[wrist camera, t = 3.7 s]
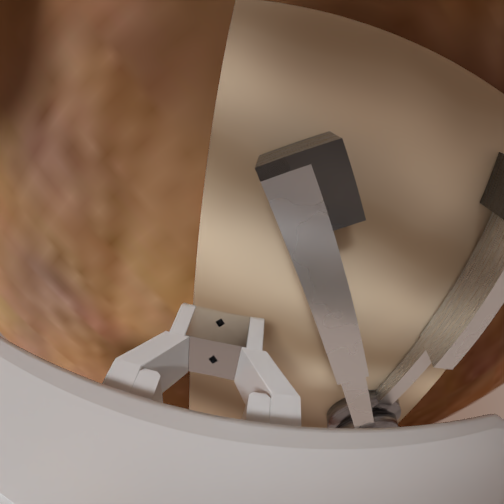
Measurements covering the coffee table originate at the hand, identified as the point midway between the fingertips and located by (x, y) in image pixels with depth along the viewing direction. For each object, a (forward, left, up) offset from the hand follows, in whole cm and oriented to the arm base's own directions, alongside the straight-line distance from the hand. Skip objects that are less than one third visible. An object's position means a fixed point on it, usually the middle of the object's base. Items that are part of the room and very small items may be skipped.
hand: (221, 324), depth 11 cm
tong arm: (+2, +6, -2) cm, 6 cm away
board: (+2, +6, -4) cm, 7 cm away
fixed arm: (+1, +10, -2) cm, 10 cm away
